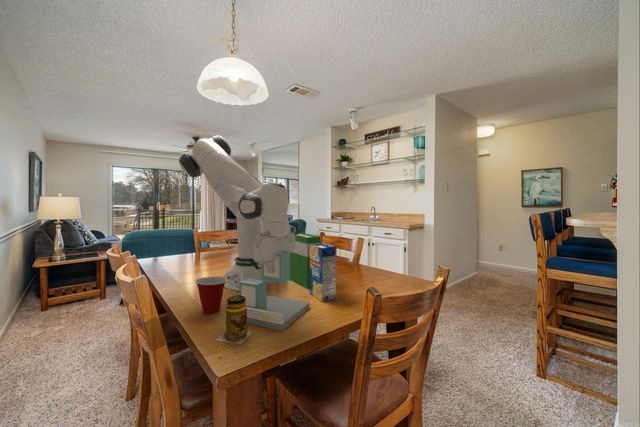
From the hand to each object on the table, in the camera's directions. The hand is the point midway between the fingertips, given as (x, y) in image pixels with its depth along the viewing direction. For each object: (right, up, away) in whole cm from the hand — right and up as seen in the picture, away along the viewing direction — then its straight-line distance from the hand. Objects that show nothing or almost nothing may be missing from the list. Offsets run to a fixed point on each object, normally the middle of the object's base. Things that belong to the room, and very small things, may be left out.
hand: (275, 270), depth 92 cm
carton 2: (0, -4, 0) cm, 4 cm away
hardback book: (+7, -15, +42) cm, 45 cm away
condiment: (-11, -18, -11) cm, 23 cm away
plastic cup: (-25, -17, +8) cm, 31 cm away
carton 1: (-9, -15, +5) cm, 18 cm away
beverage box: (+16, -16, +23) cm, 32 cm away
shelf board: (-2, -17, +6) cm, 18 cm away
